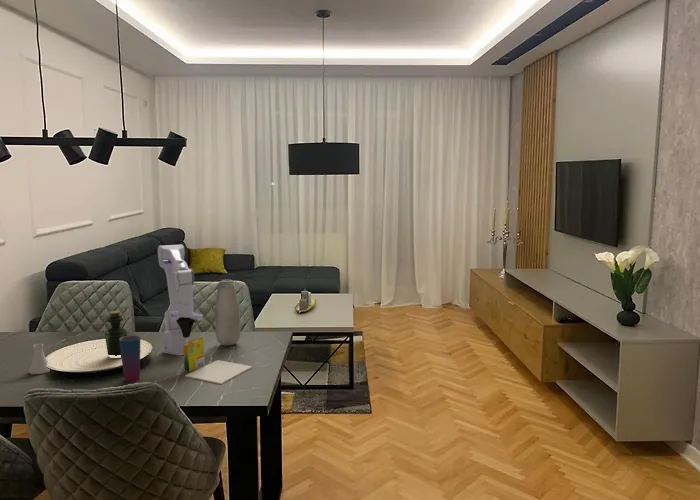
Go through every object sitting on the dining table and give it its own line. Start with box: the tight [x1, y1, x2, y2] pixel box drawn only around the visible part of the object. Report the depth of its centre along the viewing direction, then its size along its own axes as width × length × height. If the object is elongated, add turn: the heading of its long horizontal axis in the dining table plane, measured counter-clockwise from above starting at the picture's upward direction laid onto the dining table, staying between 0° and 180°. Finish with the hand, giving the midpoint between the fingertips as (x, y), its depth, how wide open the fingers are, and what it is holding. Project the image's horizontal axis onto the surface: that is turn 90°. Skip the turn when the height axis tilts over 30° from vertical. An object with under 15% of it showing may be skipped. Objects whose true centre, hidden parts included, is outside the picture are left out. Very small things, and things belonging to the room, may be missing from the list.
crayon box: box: [183, 336, 206, 373], centre depth 201 cm, size 7×3×12 cm, turn 145°
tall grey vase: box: [214, 279, 241, 347], centre depth 228 cm, size 10×10×28 cm
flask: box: [28, 343, 51, 375], centre depth 198 cm, size 7×7×10 cm
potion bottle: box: [104, 310, 128, 356], centre depth 214 cm, size 8×8×18 cm
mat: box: [184, 359, 253, 385], centre depth 199 cm, size 16×18×1 cm
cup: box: [119, 334, 141, 383], centre depth 190 cm, size 7×7×15 cm
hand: (186, 336), depth 206 cm, fingers closed
